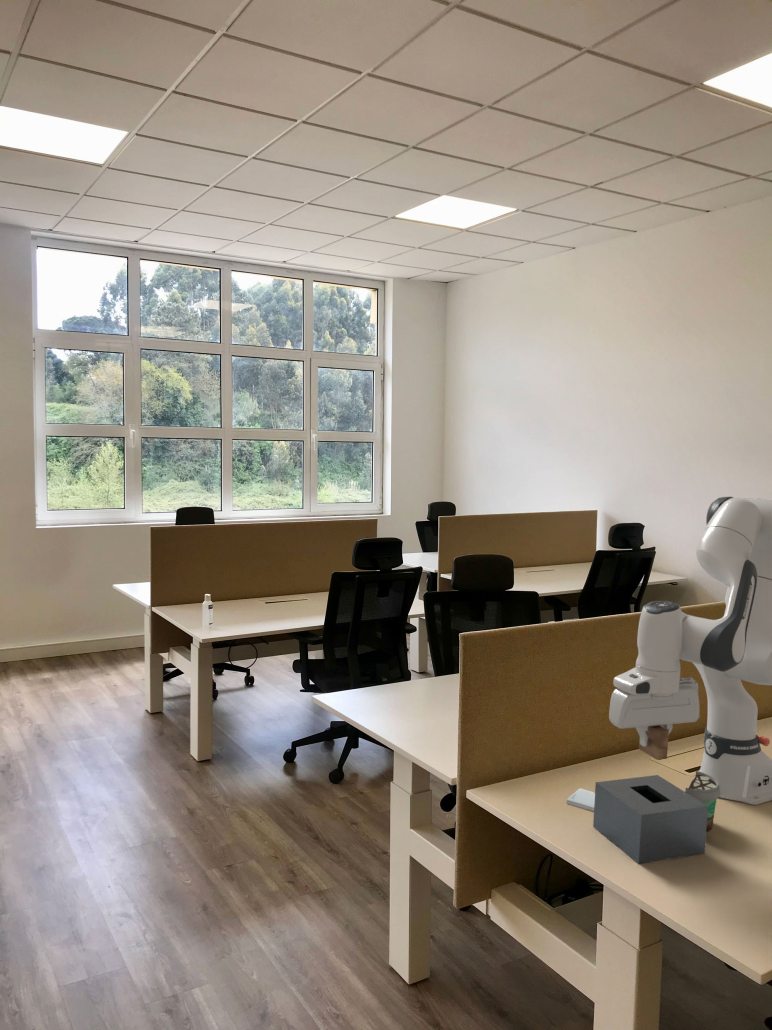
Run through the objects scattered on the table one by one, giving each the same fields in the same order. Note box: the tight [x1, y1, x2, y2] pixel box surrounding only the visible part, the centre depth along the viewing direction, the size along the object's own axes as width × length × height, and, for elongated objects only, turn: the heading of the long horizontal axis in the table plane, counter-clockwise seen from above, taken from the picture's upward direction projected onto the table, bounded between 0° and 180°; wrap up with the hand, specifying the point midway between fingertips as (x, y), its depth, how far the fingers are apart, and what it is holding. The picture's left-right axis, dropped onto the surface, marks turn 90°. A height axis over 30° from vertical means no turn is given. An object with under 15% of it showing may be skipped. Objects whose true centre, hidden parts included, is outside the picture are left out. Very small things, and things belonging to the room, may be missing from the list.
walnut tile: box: [638, 725, 670, 761], centre depth 165 cm, size 2×6×6 cm, turn 18°
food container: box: [684, 770, 721, 833], centre depth 173 cm, size 12×6×10 cm, turn 148°
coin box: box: [592, 774, 708, 865], centre depth 166 cm, size 16×16×10 cm
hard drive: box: [566, 788, 595, 812], centre depth 183 cm, size 2×8×12 cm
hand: (653, 744), depth 165 cm, fingers closed on walnut tile, 2 cm apart
